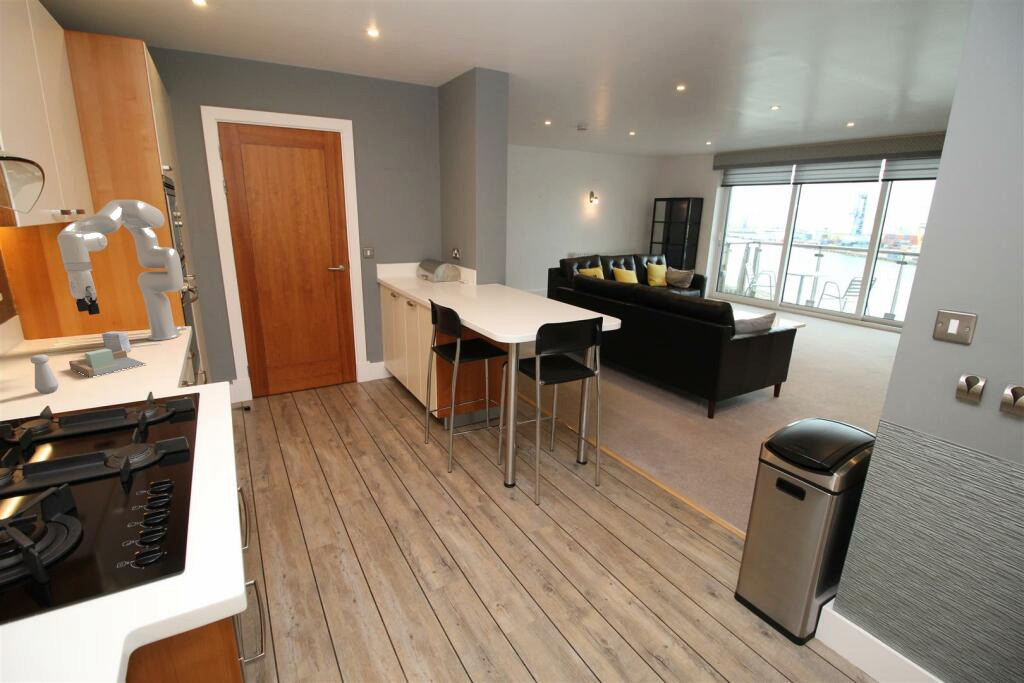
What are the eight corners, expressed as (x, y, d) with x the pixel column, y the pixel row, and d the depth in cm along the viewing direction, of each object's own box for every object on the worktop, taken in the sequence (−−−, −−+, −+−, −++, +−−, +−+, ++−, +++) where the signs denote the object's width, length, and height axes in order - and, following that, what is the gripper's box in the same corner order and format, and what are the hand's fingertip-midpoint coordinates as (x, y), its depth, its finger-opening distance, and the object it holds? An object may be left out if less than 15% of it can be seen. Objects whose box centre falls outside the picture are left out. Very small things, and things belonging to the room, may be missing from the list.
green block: (88, 367, 187) (84, 352, 186) (110, 362, 193) (106, 348, 191) (93, 369, 185) (89, 354, 183) (115, 364, 191) (111, 350, 189)
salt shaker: (53, 387, 169) (44, 352, 165) (63, 390, 167) (54, 353, 163) (32, 393, 163) (22, 356, 160) (43, 396, 161) (32, 358, 158)
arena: (125, 357, 202) (124, 350, 201) (146, 365, 193) (144, 357, 192) (70, 369, 187) (68, 361, 186) (89, 378, 178) (87, 369, 177)
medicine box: (131, 350, 211) (127, 331, 209) (122, 353, 207) (118, 334, 205) (115, 350, 212) (110, 331, 210) (105, 353, 208) (101, 333, 206)
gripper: (56, 266, 180) (67, 311, 184) (74, 270, 171) (86, 317, 176) (81, 264, 186) (92, 308, 191) (100, 267, 177) (111, 313, 182)
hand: (89, 312), depth 183 cm, fingers open, 9 cm apart
